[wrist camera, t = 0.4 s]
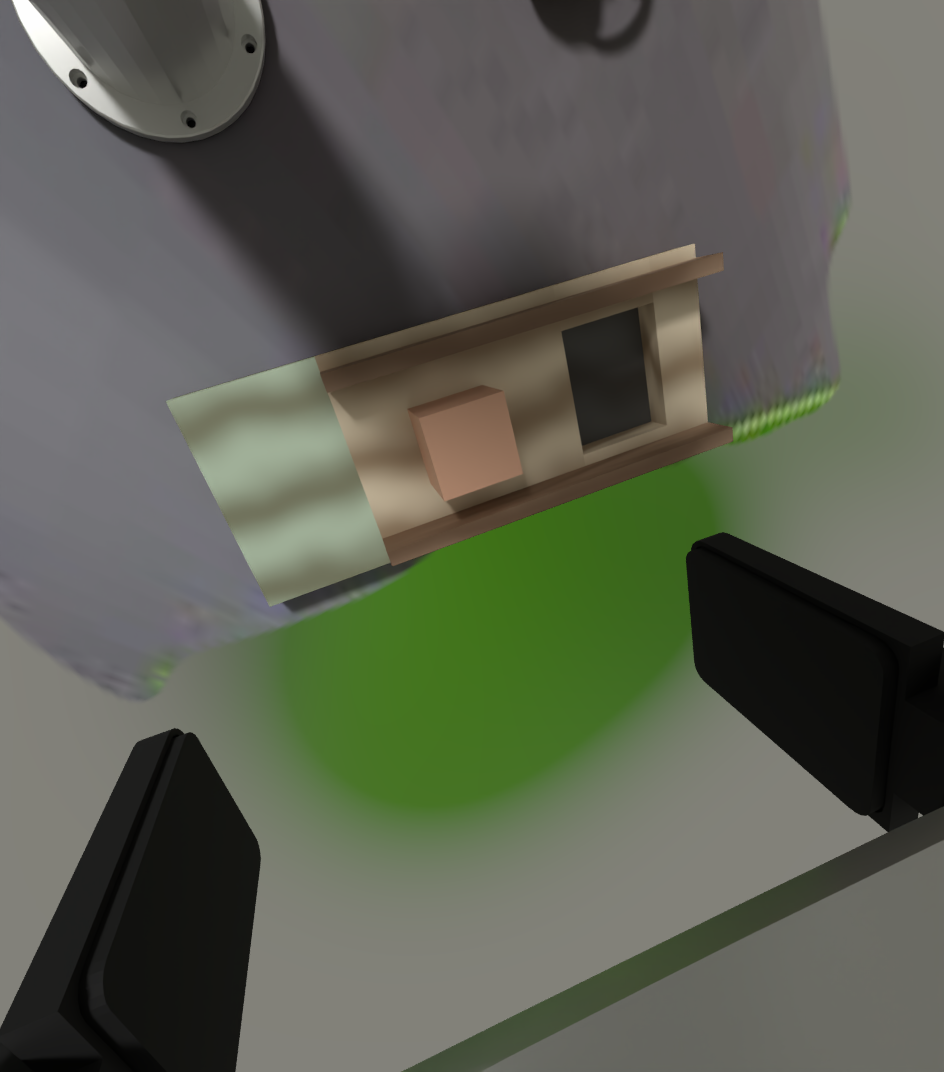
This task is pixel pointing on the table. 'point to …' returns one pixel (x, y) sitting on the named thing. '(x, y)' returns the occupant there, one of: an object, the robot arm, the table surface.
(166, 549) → the table surface
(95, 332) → the table surface
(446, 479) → the block
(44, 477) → the table surface
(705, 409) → the track
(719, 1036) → the robot arm
